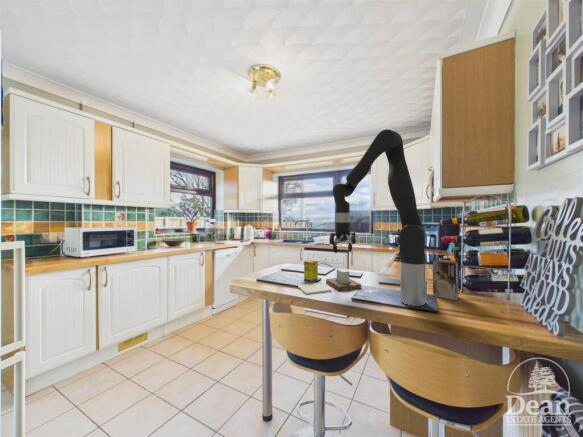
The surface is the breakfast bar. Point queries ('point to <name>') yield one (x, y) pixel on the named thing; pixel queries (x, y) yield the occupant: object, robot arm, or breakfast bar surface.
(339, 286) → the frame
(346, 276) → the sage block
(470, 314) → the breakfast bar surface
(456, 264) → the coffee box
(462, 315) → the breakfast bar surface
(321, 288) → the tile mat
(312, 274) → the supplement box
